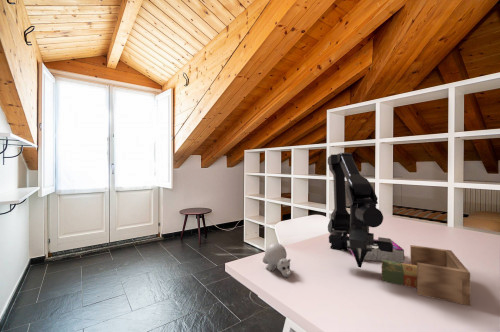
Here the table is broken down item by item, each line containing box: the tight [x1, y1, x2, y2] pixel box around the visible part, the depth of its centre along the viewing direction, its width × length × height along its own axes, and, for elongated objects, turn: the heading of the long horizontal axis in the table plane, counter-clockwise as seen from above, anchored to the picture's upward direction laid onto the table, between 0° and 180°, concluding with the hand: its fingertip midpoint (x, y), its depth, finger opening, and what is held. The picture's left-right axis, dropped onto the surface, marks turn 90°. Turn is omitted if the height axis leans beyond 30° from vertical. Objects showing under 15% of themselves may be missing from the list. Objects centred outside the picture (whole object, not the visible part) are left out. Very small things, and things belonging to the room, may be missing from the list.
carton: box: [381, 260, 417, 289], centre depth 69 cm, size 8×16×4 cm, turn 60°
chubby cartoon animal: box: [262, 242, 291, 278], centre depth 76 cm, size 7×12×8 cm, turn 25°
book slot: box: [409, 244, 471, 307], centre depth 68 cm, size 10×18×8 cm, turn 151°
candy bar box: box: [348, 238, 405, 263], centre depth 90 cm, size 11×5×16 cm
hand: (359, 266), depth 77 cm, fingers closed
